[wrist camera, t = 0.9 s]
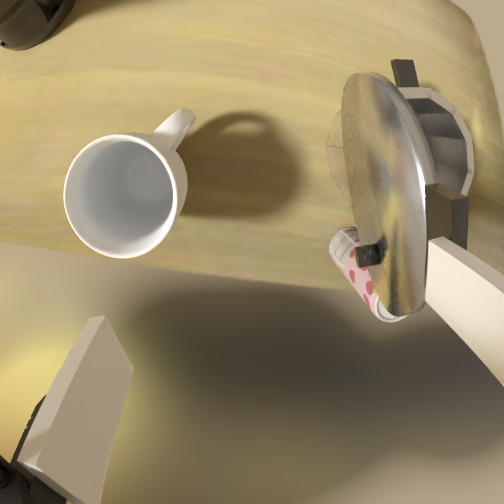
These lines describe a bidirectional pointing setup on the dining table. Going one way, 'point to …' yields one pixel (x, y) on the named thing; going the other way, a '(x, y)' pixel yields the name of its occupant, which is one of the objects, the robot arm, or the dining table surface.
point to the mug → (128, 188)
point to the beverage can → (357, 271)
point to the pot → (434, 128)
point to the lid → (395, 192)
